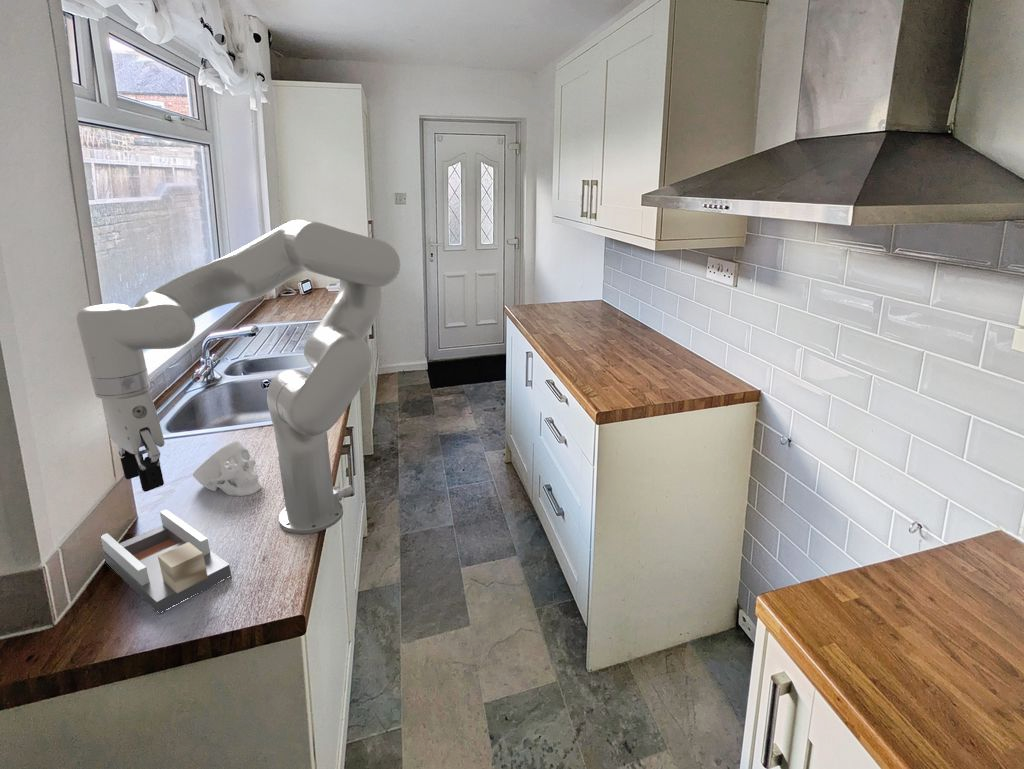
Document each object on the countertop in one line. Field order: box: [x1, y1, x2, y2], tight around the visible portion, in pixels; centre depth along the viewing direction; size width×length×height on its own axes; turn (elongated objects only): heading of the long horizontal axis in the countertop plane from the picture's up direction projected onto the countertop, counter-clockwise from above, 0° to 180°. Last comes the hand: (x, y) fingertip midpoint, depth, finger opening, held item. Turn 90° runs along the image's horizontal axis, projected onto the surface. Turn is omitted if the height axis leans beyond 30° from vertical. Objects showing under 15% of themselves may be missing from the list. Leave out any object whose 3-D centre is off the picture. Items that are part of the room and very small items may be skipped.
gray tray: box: [100, 508, 232, 614], centre depth 104 cm, size 22×12×6 cm, turn 53°
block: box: [158, 542, 208, 593], centre depth 97 cm, size 5×5×5 cm
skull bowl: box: [192, 439, 262, 497], centre depth 131 cm, size 10×14×12 cm
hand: (144, 481), depth 99 cm, fingers open, 6 cm apart
